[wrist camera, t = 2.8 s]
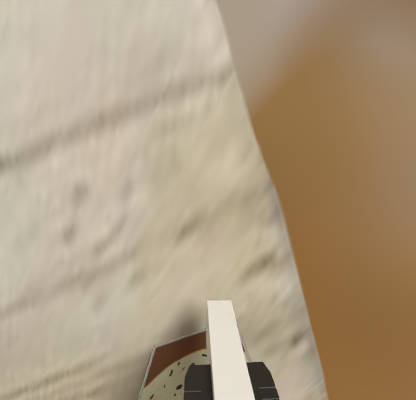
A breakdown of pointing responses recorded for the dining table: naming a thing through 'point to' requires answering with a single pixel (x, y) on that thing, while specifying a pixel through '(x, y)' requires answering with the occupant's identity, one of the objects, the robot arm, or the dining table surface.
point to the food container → (175, 365)
